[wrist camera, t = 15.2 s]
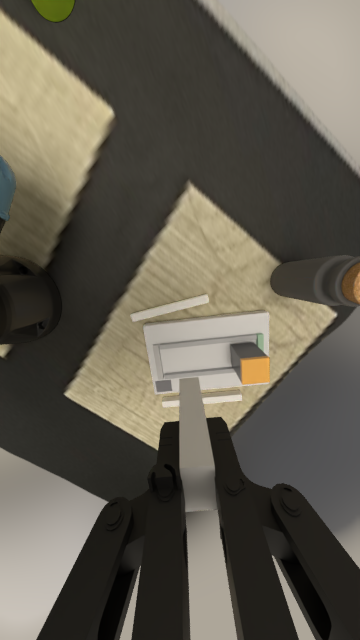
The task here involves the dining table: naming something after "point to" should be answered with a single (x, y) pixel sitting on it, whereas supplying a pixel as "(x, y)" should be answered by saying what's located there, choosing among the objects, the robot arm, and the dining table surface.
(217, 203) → the dining table surface
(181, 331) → the panel
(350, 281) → the bottle
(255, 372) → the knob
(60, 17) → the soap dispenser
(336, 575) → the robot arm
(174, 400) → the light grey long bar
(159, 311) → the light grey thin bar
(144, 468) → the dining table surface
